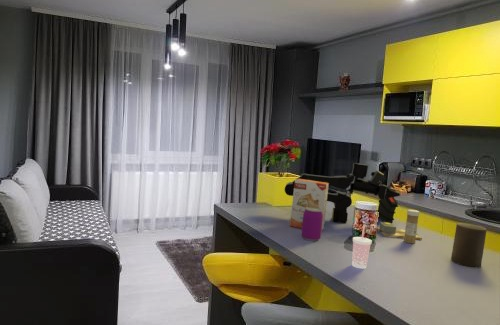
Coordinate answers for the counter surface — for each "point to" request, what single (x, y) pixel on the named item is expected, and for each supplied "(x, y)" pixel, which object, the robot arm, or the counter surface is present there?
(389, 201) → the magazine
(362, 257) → the beverage cup
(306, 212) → the beverage can
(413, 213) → the sprinkles bottle
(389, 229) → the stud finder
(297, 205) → the cracker box
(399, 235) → the plywood board
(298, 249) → the counter surface
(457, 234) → the pillar candle
